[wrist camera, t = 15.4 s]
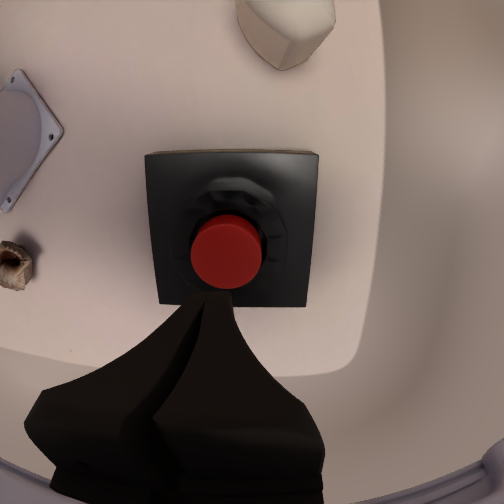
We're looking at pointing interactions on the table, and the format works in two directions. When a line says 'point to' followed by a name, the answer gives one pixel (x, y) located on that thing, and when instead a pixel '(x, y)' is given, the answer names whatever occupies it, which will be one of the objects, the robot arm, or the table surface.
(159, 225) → the box
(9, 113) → the robot arm
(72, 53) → the table surface
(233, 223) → the button
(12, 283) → the seashell
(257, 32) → the eye dropper bottle
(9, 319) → the table surface
